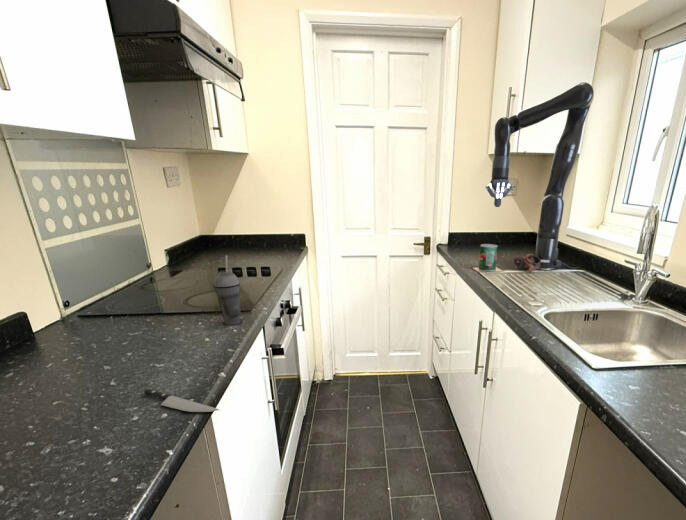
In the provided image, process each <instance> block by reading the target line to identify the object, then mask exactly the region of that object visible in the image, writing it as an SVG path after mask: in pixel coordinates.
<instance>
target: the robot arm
mask: <svg viewBox="0 0 686 520" xmlns="http://www.w3.org/2000/svg"><path fill="white" fill-rule="evenodd" d="M594 98H595V92H594V88H593V86H592V84H590V83H588V82H579V83H577V84H575V85H573V86H572V87H570V88H569V89H567V90H565V91H563V92H562V93H559V94H557V95H556V96H554V97H552V98H550V99H547V100H545V101H542V102H540V103H537V104H534V105H531V106H529V107H527V108H524V109H522V110H520V111H518V112H517V113H516V114H514V115H510V116H508V117H507V116H501V117H499V118H498V119H497V120H496V122H495V125H494V148H493V149H494V150H493V158H492V165H491V168H492V169H491V180H490V181H489V184H487V185H485V190H486V191H487V192H488V194H489V196H490V197H491V198H493V199H494V201H493V206H494V207H495V208H500V207H501V205H502V199H503V198H505V197H507V196H508V194H509V193H510V191H512V189H513V185H511V184H510V182H509V176H510V175H509V172H510V165H511V164H510V163H511V162H510V161H511V160H510V159H511V158H510V156H511V142H510V141H511V140H510V139H511V135H512V134H514V133H517V132H518V131H520V130H522V129H525V128H528V127H532V126H534V125H536V124H538V123H541V122H543V121H545V120H547V119H549V118H551V117H552V116H554V115H556V114H559V113H562V112H565V111H567V115H566V120H565V124H564V127H563V129H562V131H561V133H560V136H559V138H558V139H557V140H558V141H557V143H556V146H555V150H554V153H553V157H552V163H551V168H550V172H549V173H550V174H549V179H548V183H547V187H546V188H545V192H544V195H543V197H542V199H541V202H540V216H539V221H538V222H539V223H538V226H537V227H538V229H537V235H536V236H537V237H536V244H535V252H534V255H536V256H537V257H539V258H540V260H541V263H540V267H539V268H538V269H537V270H540V271H553V270H556V269H557V267H561V266H562V265H563V266H566V268H567V269H570V270H576V269H580V268H581V266H573V267H572V266H569V265H568V264H567V263H565V262H563V261H562V260H559V259H558V256H559V248H558V245H559V244H558V243H559V236H560V229H561V226H562V220H563V214H564V207H565V201H564V199H563V198H564V192H565V187H566V184H567V181H568V178H569V177H570V175H571V174H572V173H571V172H572V171H573V168H574V165H575V163H576V160H577V157H578V153H579V150H580V146H581V141H582V135H583V129H584V125H585V122H586V119H587V116H588V113H589V111H590V109H591V106H592V103H593V101H594ZM534 263H538V261H536V260H534V259H533V264H534Z"/></svg>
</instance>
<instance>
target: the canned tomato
mask: <svg viewBox="0 0 686 520" xmlns="http://www.w3.org/2000/svg"><path fill="white" fill-rule="evenodd" d="M498 246H499V245H497V244H494V243H493V244H492V243H482V244H480V247H479V259H478V267H479V270H483V271H493V272H495V271H494V270H496V267H497V260H498V259H497V257H498Z"/></svg>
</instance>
